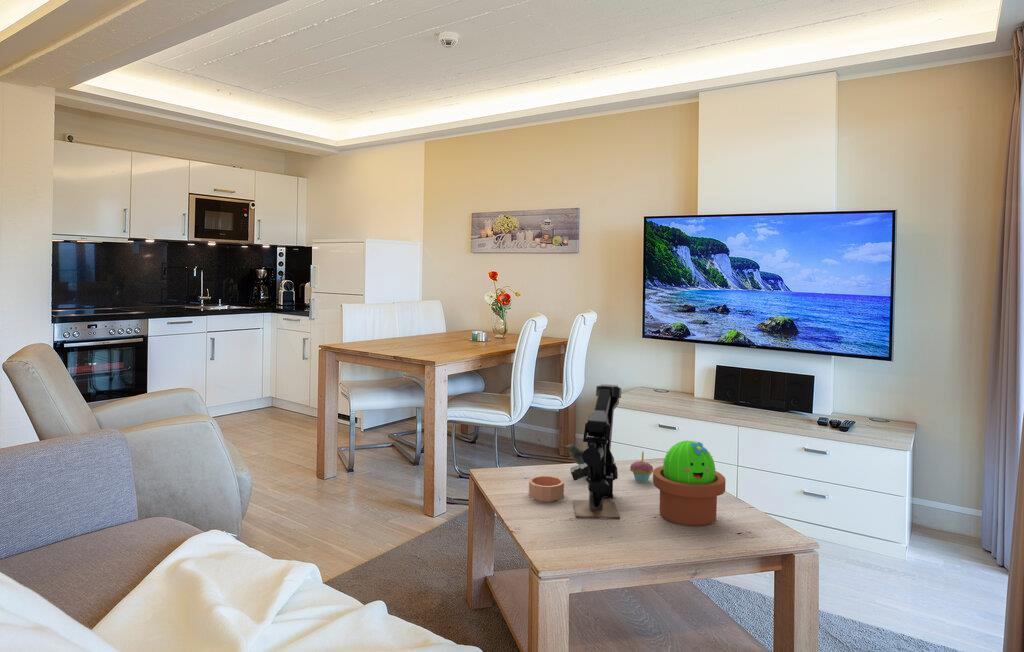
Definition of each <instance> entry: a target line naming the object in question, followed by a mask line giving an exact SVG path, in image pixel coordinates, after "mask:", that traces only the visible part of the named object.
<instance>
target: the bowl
mask: <svg viewBox="0 0 1024 652" xmlns="http://www.w3.org/2000/svg"><path fill="white" fill-rule="evenodd" d="M564 489H565V482H564V479H562V478H560V477H559V476H552V475H537V476H532V477H531V478H529V480H528V496H530V498H531V497H532V498H533V500H535V499H537V500H536V501H539V500H541V501H540V502H554V500H556V501H560V500H561V499H563V498H564V496H565V495H564V492H565V490H564ZM532 498H531V499H532ZM559 499H560V500H559Z"/></svg>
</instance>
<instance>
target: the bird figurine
mask: <svg viewBox="0 0 1024 652" xmlns="http://www.w3.org/2000/svg"><path fill="white" fill-rule="evenodd" d="M561 449H566V450H567V452H568V453H569V454H570V456H571V457H572V459H573V461H574V462H575V464H577V465H580V464H584V463H585V462H584V461H583V457H582V455H583V452H584V451H585V450H583V449H580V448H579V447H577V446H576V445H575V444H573V443H570V444H568V445H564V446H562V447H561Z"/></svg>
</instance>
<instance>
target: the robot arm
mask: <svg viewBox="0 0 1024 652" xmlns="http://www.w3.org/2000/svg"><path fill="white" fill-rule="evenodd" d="M595 396H596V397H597V398H596V402H595V403H596V404H595V406H594V411H593V413H591V414H589V415H588V419H587V421H586V422H585V424H584V431H583V437H582V438H583V439H582V441H583V443H587V445H586V448H585V450H584V452H583V455H582V457H583V461H584V462H585V463H584V464H580V465H579V464H577V465H575V466H572V467H571V466H570V468H569V470H570V474H571V477H572V480H573V481H578V480H580V479H583V478H585V477H586V478H585V480H586V483H587V489H588V491H590V492H592V493H593V499H594V505H595V507H598V506H599V504H600V502H601V500H602V498H603V499H604V498H612V499H613V498H614V493H613V491H614V490H613V489H614V488H613V487H614V481H615V480H618V476H619V475H618V467H617V464H616V462H615V457H614V455H613V452H612V451H611V449H612V437H613V425H614V415H615V413H614V412H615V409H616V408H617V407H618V405H619V403H620V399H622V388H621V387H620V386H619V384H608V383H607V384H605V383H601V384H599V385H596V390H595Z"/></svg>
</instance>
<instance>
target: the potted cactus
mask: <svg viewBox="0 0 1024 652" xmlns="http://www.w3.org/2000/svg"><path fill="white" fill-rule="evenodd" d="M666 451H667V452H666V454H665V457H664V458H663V465H662V466H661V465H660V466H658V467H655V468H653V472H652V484H653V486H654V487H655V488H656V489H658V490H659V505H658V506H659V514H660V516H661V517H662V518H663V519H665V520H666V521H668V522H671V523H673V524H677V525H682V526H689V527H690V526H691V527H701V526H709V525H711V524H713V523H714V522H716V520H717V509H718V507H717V504H718V497H719V496H722V495H723V494H724V493H725V492H726V482H727V481H726V477H725V476H724V475H723V474H722V473H720V472H718V471H717V469H718V468H716V466H715V462H714V458H713V456H712V455H711V452H709V451H708V448H706V447H704V443H702V442H699V441H697V440H684V441H683V440H681V441H678V442H676V444H673V445H672V446H670V448H669V449H667V450H666Z"/></svg>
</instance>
